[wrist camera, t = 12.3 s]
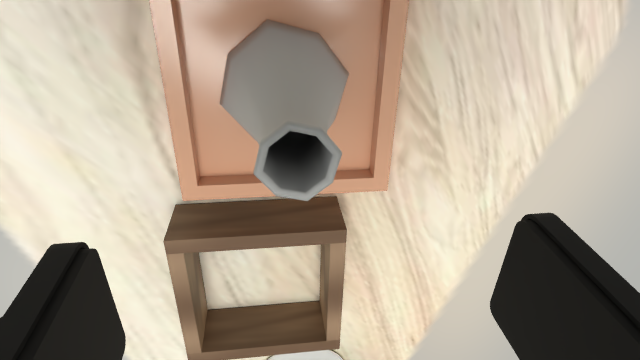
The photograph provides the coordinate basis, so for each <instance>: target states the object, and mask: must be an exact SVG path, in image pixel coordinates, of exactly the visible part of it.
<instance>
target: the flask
mask: <svg viewBox="0 0 640 360" xmlns="http://www.w3.org/2000/svg"><path fill="white" fill-rule="evenodd" d="M348 75H349V73H348V71H347V70H346V69H345V67H344V66H343V65H342V63H341V62H340V61H339V59H338V58H337V57H336V55H335V54H334V53H333V51H332V50H331V49H330V47H329V46H328V45H327V43H326V42H325V41H324V39H323V38H322V37H321V35H320V34H319V33H316V32H313V31H309V30H305V29H302V28H298V27H294V26H290V25H287V24H283V23H279V22H275V21H272V20H268V19H267V20H266V21H265V22H264V23H263V24H262V25H260V26H259V27H258V28H257V29H256V30H255V31H254V32H252V33H251V34H250V35H249V36H248V37H247V38H246V39H244V40H243V41H242V42H241V43H240V44H239V45H238V46H237V47H235V48H234V49H233V50H232V51H231V52H230V53H229V54H228V55H227V61H226V67H225V73H224V79H223V85H222V92H221V98H220V105H221V106H222V107H223V108H224V109H225V110H226V111H227V112H228V113H229V114H230V115H231V116H232V117H233V118H234V119H235V120H236V121H237V122H238V123H239V124H240V125H241V126H242V127H243V128H244V129H245V130H246V131H247V132H248V133H249V134H250V135H251V136H252V137H253V138H254V139H255V140H256V141H257V142H258V144H259V150H258V154H257V159H256V163H255V168H254V175H255V176H256V177H257V178H258V179H259V180H260V181H261V182H262V183H263V184H264V185H265V186H266V187H267V188H268V189H269V190H270V191H271V192H272V193H273V194H274V195H275V196H279V197H285V198H291V199H297V200H303V201H308V200H310V199H311V198H313V197H314V196H315V195H317V194H318V193H319V192H321V191H322V190H323V189H325V188H326V187H328V186H329V185H330V184H332V183H333V180H334V177H335V174H336V171H337V168H338V165H339V162H340V159H341V156H342V151H341V150H340V149H339V148H338V146H337V145H336V144H335V143H334V142H333V141H332V139H331V138H330V137H329V136H328V135H327V130H328V129H329V128H330V126H331V125H332V124H333V122H334V120H335V118H336V115H337V112H338V108H339V105H340V102H341V98H342V95H343V92H344V88H345V85H346V82H347V78H348Z"/></svg>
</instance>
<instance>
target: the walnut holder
mask: <svg viewBox="0 0 640 360" xmlns="http://www.w3.org/2000/svg"><path fill="white" fill-rule="evenodd" d="M346 234H347V229H346V226H345V223H344V219H343V216H342V213H341V210H340V207H339V203H338V200H337V197H318V198H311V199H310V200H308V201H303V200H297V199H279V200H259V201H240V202H220V203H200V204H181V205H175V208H174V211H173V214H172V217H171V220H170V223H169V226H168V229H167V232H166V235H165V238H164V246H165V250H166V255H167V260H168V265H169V270H170V275H171V279H172V284H173V289H174V294H175V299H176V303H177V308H178V313H179V318H180V323H181V328H182V332H183V337H184V342H185V347H186V352H187V356H188V360H229V359H239V358H249V357H260V356H270V355H280V354H291V353H301V352H312V351H322V350H332V349H339V346H340V330H341V314H342V298H343V282H344V266H345V250H346ZM319 244H321V269H320V301H313V302H301V303H288V304H276V305H264V306H252V307H239V308H227V309H215V310H208V309H207V303H206V297H205V290H204V284H203V278H202V271H201V265H200V259H199V252H211V251H226V250H242V249H257V248H273V247H288V246H303V245H319Z"/></svg>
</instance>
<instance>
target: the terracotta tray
mask: <svg viewBox="0 0 640 360" xmlns="http://www.w3.org/2000/svg"><path fill="white" fill-rule="evenodd" d="M149 3H150V9H151V15H152V21H153V27H154V33H155V39H156V45H157V50H158V56H159V62H160V68H161V74H162V80H163V86H164V92H165V98H166V104H167V110H168V116H169V122H170V127H171V133H172V139H173V145H174V151H175V157H176V163H177V169H178V175H179V181H180V187H181V193H182V199H183V201H189V200H209V199H229V198H249V197H269V196H275V195H274V194H273V193H272V192H271V191H270V190H269V189H268V188H267V187H266V186H265V185H264V184H263V183H262V182H261V181H260V180H259V179H258V178H257V177H256V176H255V175H254V168H255V163H256V159H257V154H258V150H259V144H258V142H257V141H256V140H255V139H254V138H253V137H252V136H251V135H250V134H249V133H248V132H247V131H246V130H245V129H244V128H243V127H242V126H241V125H240V124H239V123H238V122H237V121H236V120H235V119H234V118H233V117H232V116H231V115H230V114H229V113H228V112H227V111H226V110H225V109H224V108H223V107H222V106H221V105H220V98H221V92H222V85H223V79H224V73H225V67H226V61H227V55H228V54H229V53H230V52H231V51H232V50H233V49H234V48H235V47H237V46H238V45H239V44H240V43H241V42H242V41H243V40H244V39H246V38H247V37H248V36H249V35H250V34H251V33H252V32H254V31H255V30H256V29H257V28H258V27H259V26H260V25H262V24H263V23H264V22H265V21H266V20H267V19H268V20H272V21H275V22H279V23H283V24H287V25H290V26H294V27H298V28H302V29H305V30H309V31H313V32H316V33H319V34H320V35H321V37H322V38H323V39H324V41H325V42H326V43H327V45H328V46H329V47H330V49H331V50H332V51H333V53H334V54H335V55H336V57H337V58H338V59H339V61H340V62H341V63H342V65H343V66H344V67H345V69H346V70H347V71H348V73H349V75H348V78H347V82H346V85H345V88H344V92H343V95H342V98H341V102H340V105H339V108H338V112H337V115H336V118H335V120H334V122H333V124H332V125H331V126H330V128H329V129H328V130H327V135H328V136H329V137H330V138H331V139H332V141H333V142H334V143H335V144H336V145H337V146H338V148H339V149H340V150H341V151H342V156H341V159H340V162H339V165H338V168H337V171H336V174H335V177H334V180H333V183H332V184H330V185H329V186H328V187H326V188H325V189H323V190H322V191H321V192H319V193H318V194H329V193H349V192H369V191H387V189H388V180H389V171H390V162H391V154H392V145H393V136H394V128H395V119H396V110H397V102H398V93H399V84H400V75H401V67H402V58H403V49H404V41H405V32H406V23H407V14H408V6H409V0H149Z"/></svg>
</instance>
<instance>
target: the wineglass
mask: <svg viewBox="0 0 640 360" xmlns="http://www.w3.org/2000/svg"><path fill="white" fill-rule="evenodd" d="M267 360H343V359H342V358H341V357H340V356H339V355H338V354H337V353H335V352H333V351H331V350H322V351H312V352H301V353H291V354H280V355H273V356H272V357H270V358H269V359H267Z"/></svg>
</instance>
